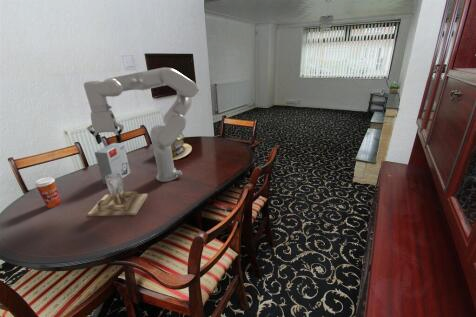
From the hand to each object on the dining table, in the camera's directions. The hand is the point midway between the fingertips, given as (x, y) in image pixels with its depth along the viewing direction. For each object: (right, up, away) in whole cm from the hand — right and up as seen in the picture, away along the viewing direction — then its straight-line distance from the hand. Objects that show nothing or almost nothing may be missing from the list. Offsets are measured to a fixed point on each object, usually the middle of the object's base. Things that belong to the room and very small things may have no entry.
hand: (109, 142), depth 118 cm
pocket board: (+6, -31, -2) cm, 32 cm away
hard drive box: (-8, -20, +24) cm, 32 cm away
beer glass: (+6, -30, -2) cm, 31 cm away
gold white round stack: (+18, -5, +56) cm, 59 cm away
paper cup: (-28, -31, 0) cm, 42 cm away
